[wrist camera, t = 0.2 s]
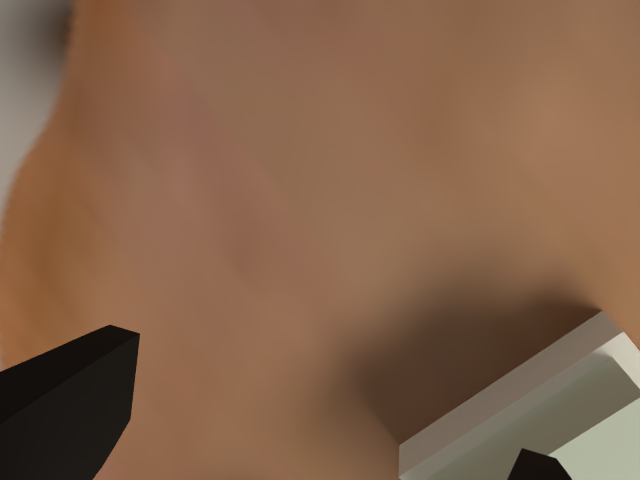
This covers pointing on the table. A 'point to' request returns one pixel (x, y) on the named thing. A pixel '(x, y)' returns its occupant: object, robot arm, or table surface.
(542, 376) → the tower base slab
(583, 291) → the table surface
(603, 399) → the tower top slab
